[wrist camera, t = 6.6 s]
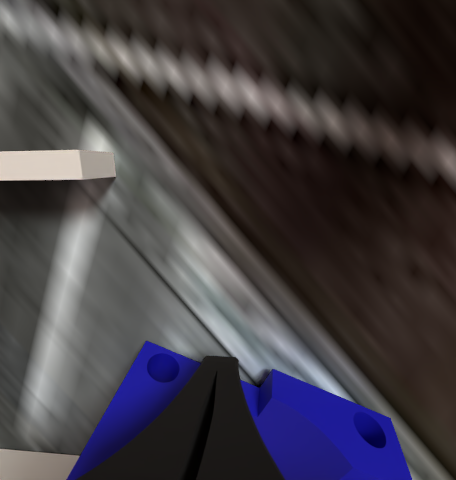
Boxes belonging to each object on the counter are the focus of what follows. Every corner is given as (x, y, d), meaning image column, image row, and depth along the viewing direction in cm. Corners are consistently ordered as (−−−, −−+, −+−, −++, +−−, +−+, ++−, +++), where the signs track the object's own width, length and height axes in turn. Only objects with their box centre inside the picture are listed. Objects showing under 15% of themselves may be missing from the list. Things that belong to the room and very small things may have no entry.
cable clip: (390, 418, 14) (462, 621, 8) (340, 465, 16) (371, 653, 10) (153, 318, 13) (69, 459, 8) (133, 378, 15) (54, 523, 10)
